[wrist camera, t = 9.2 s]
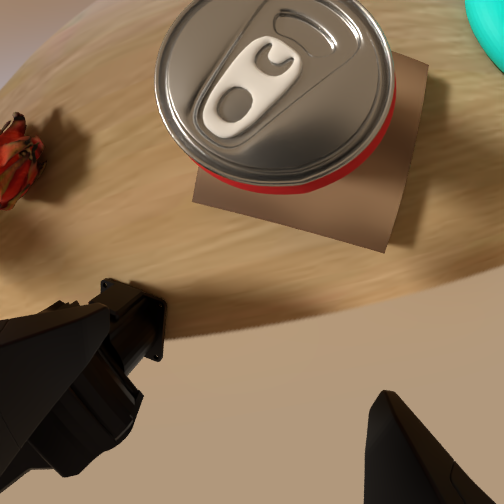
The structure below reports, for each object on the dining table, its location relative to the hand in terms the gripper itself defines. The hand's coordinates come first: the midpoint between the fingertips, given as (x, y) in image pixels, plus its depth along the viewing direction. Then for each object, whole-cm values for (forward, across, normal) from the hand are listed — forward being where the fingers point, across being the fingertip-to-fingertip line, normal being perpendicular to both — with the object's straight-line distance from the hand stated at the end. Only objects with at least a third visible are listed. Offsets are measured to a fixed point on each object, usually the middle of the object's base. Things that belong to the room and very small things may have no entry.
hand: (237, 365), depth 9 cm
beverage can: (+11, +1, -8) cm, 13 cm away
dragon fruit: (+13, +26, -2) cm, 29 cm away
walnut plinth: (+13, 0, -8) cm, 15 cm away
